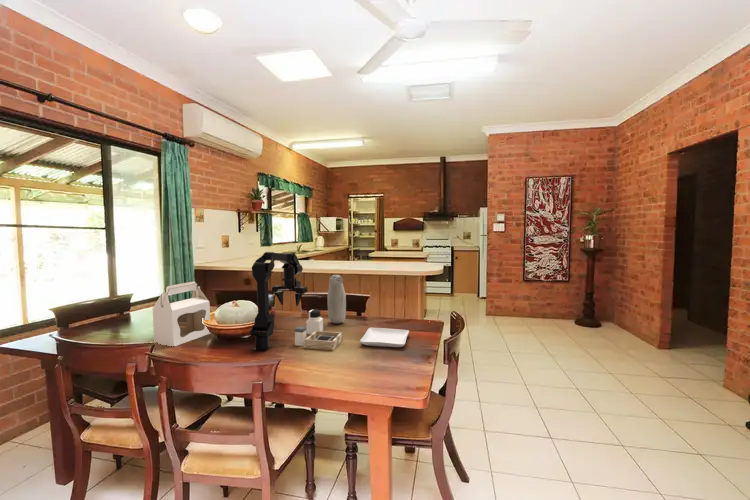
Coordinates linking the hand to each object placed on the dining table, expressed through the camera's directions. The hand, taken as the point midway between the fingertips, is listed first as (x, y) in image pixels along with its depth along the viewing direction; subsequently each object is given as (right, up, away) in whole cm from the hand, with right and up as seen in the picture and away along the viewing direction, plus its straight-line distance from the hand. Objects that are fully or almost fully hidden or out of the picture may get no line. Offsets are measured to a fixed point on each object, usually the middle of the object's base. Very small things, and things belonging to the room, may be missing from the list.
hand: (289, 305), depth 185 cm
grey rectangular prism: (+10, -16, -19) cm, 26 cm away
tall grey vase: (+23, -13, +16) cm, 31 cm away
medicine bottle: (+14, -14, -1) cm, 20 cm away
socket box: (+21, -16, -19) cm, 32 cm away
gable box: (-51, -16, -9) cm, 54 cm away
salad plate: (+51, -16, -15) cm, 55 cm away
